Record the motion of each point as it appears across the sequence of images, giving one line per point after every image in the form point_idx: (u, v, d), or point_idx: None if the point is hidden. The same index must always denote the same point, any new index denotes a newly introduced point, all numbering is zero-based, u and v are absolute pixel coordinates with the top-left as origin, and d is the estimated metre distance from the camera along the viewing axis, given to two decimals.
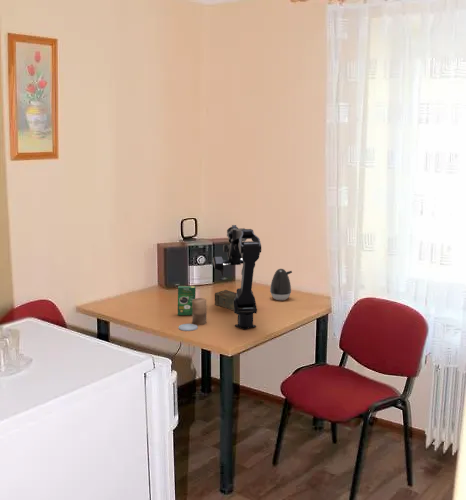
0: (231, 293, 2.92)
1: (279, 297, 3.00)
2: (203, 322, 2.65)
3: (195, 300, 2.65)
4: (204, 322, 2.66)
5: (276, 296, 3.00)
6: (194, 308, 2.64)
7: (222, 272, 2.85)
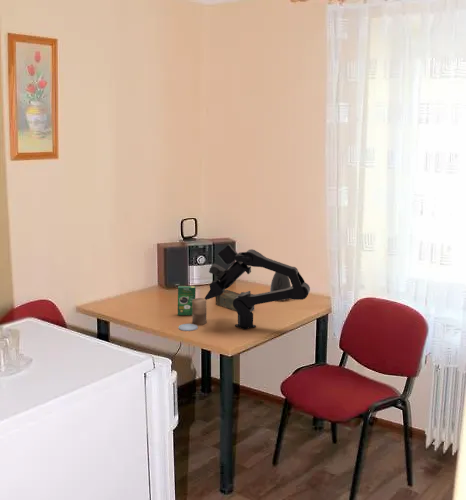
0: (232, 293, 2.92)
1: None
2: (203, 322, 2.65)
3: (195, 300, 2.65)
4: (204, 322, 2.66)
5: None
6: (194, 308, 2.64)
7: (214, 296, 2.58)
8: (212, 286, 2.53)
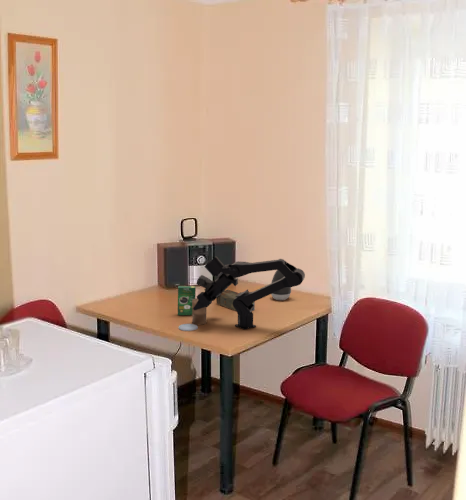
0: (232, 293, 2.92)
1: (279, 297, 3.00)
2: (203, 322, 2.65)
3: (195, 300, 2.65)
4: (204, 322, 2.66)
5: (276, 296, 3.00)
6: None
7: (202, 307, 2.62)
8: (199, 298, 2.56)
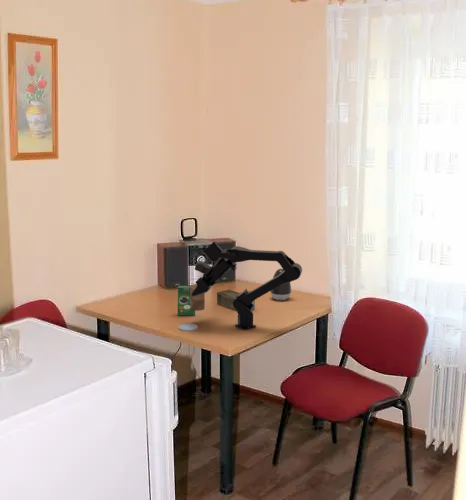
0: (233, 293, 2.92)
1: (279, 297, 3.00)
2: (201, 308, 2.63)
3: (193, 286, 2.63)
4: (202, 308, 2.64)
5: (276, 296, 3.00)
6: None
7: None
8: (198, 283, 2.53)
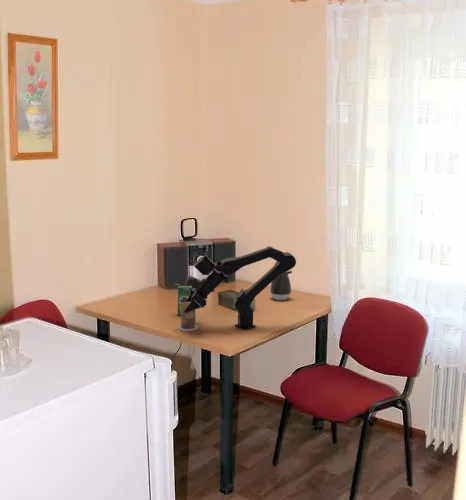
0: (234, 293, 2.92)
1: (279, 297, 3.00)
2: (194, 326, 2.59)
3: (184, 304, 2.57)
4: (194, 326, 2.59)
5: (276, 296, 3.00)
6: None
7: None
8: (196, 298, 2.49)
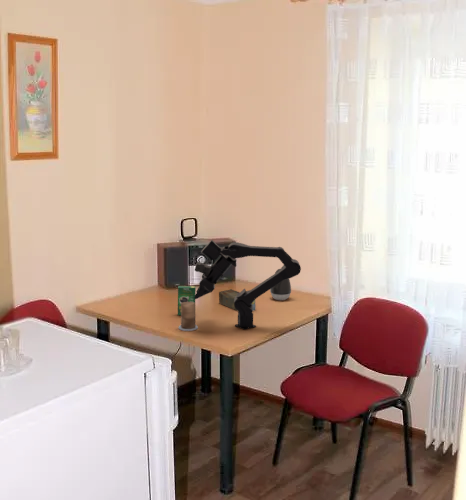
0: (235, 293, 2.93)
1: (279, 297, 3.00)
2: (194, 326, 2.59)
3: (184, 304, 2.57)
4: (194, 326, 2.59)
5: (276, 296, 3.00)
6: (185, 312, 2.56)
7: None
8: (203, 283, 2.50)
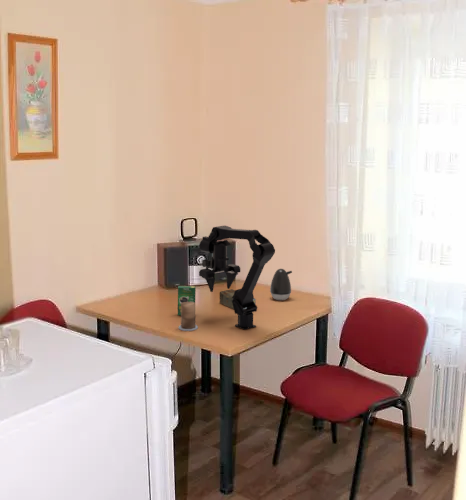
0: None
1: (279, 297, 3.00)
2: (194, 326, 2.59)
3: (184, 304, 2.57)
4: (194, 326, 2.59)
5: (276, 296, 3.00)
6: (185, 312, 2.56)
7: (213, 284, 2.65)
8: (200, 274, 2.64)
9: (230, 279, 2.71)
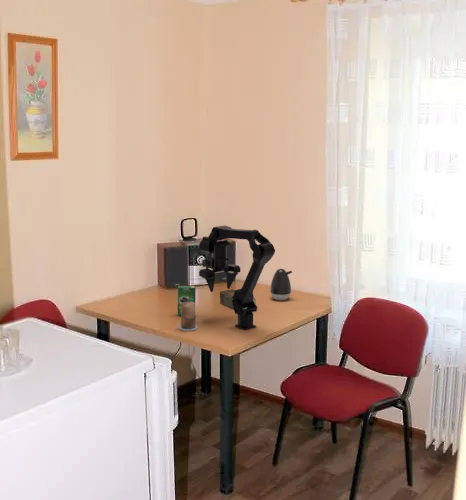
0: None
1: (279, 297, 3.00)
2: (194, 326, 2.59)
3: (184, 304, 2.57)
4: (194, 326, 2.59)
5: (276, 296, 3.00)
6: (185, 312, 2.56)
7: (213, 284, 2.65)
8: (200, 274, 2.64)
9: (230, 279, 2.71)
